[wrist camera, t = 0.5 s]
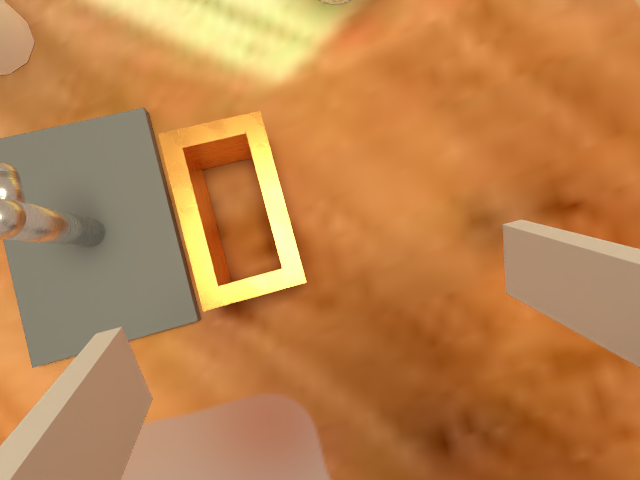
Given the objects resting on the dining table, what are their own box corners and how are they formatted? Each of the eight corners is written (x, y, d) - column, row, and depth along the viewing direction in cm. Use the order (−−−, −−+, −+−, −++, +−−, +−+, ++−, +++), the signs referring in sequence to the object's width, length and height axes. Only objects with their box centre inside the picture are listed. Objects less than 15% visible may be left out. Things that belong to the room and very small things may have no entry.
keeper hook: (108, 242, 30) (13, 231, 20) (79, 249, 30) (-33, 242, 19) (94, 187, 30) (-6, 148, 20) (65, 194, 30) (-52, 158, 20)
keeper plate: (200, 319, 31) (197, 320, 30) (41, 364, 29) (32, 367, 28) (148, 112, 32) (143, 107, 31) (-9, 146, 30) (-19, 142, 29)
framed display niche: (303, 279, 32) (306, 282, 26) (219, 302, 31) (203, 311, 25) (265, 138, 33) (260, 111, 27) (182, 158, 32) (157, 133, 26)
